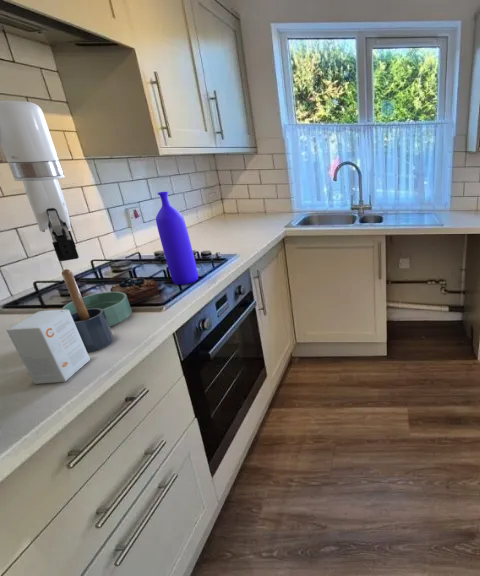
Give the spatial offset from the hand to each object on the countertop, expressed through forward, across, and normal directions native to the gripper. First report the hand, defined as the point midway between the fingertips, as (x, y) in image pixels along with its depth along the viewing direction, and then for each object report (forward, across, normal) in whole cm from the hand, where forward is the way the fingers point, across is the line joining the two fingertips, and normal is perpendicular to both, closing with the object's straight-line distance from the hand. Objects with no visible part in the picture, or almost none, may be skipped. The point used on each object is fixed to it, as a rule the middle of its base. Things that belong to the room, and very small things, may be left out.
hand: (68, 254), depth 78 cm
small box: (+24, +6, -7) cm, 26 cm away
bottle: (+23, -32, +27) cm, 48 cm away
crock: (+23, -3, -1) cm, 24 cm away
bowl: (+23, -17, +2) cm, 29 cm away
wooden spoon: (+23, -3, -1) cm, 23 cm away
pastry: (+23, -29, +12) cm, 39 cm away
